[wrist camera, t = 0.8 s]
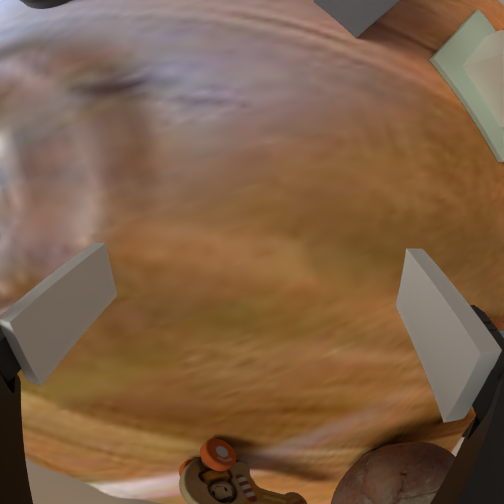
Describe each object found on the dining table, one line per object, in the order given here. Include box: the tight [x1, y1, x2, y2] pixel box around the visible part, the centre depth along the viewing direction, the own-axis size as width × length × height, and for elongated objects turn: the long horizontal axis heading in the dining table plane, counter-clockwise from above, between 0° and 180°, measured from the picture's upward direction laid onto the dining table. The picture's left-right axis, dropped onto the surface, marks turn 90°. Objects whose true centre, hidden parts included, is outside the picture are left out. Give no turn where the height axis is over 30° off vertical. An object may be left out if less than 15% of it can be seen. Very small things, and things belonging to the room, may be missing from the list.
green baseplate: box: [429, 9, 504, 162], centre depth 27 cm, size 16×16×1 cm
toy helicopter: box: [179, 438, 307, 504], centre depth 33 cm, size 8×21×14 cm, turn 55°
